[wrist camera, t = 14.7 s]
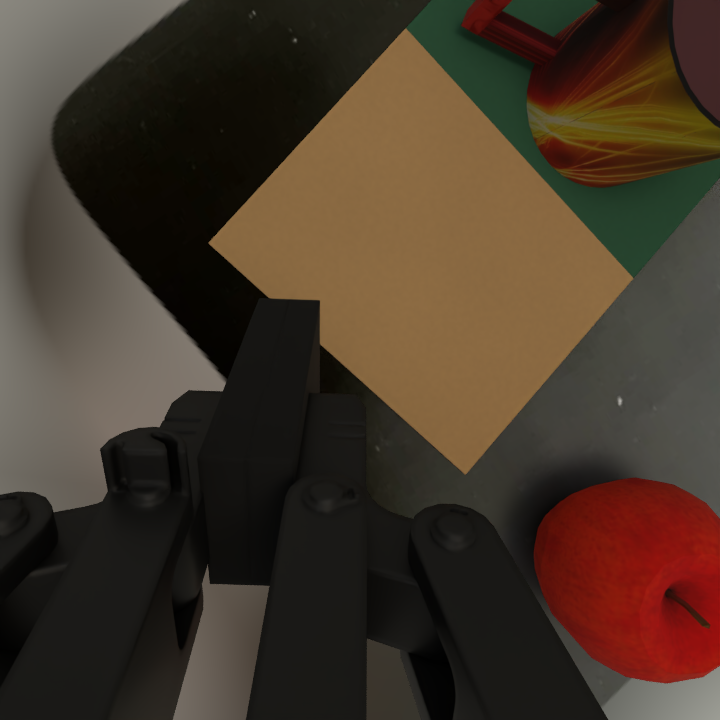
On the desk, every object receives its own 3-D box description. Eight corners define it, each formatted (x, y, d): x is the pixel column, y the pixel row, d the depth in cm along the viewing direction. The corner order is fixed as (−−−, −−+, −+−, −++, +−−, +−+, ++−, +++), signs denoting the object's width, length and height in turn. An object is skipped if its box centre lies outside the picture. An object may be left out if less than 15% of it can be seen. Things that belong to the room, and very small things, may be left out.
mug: (452, 18, 36) (564, -115, 24) (670, 18, 38) (867, -101, 27) (463, 196, 37) (575, 152, 25) (674, 183, 40) (863, 138, 28)
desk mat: (208, 243, 34) (208, 243, 34) (591, -174, 36) (592, -175, 36) (464, 474, 39) (465, 474, 39) (791, 92, 41) (793, 91, 41)
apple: (600, 421, 40) (759, 475, 29) (664, 545, 42) (836, 643, 30) (471, 509, 39) (580, 603, 27) (542, 633, 41) (673, 771, 29)
